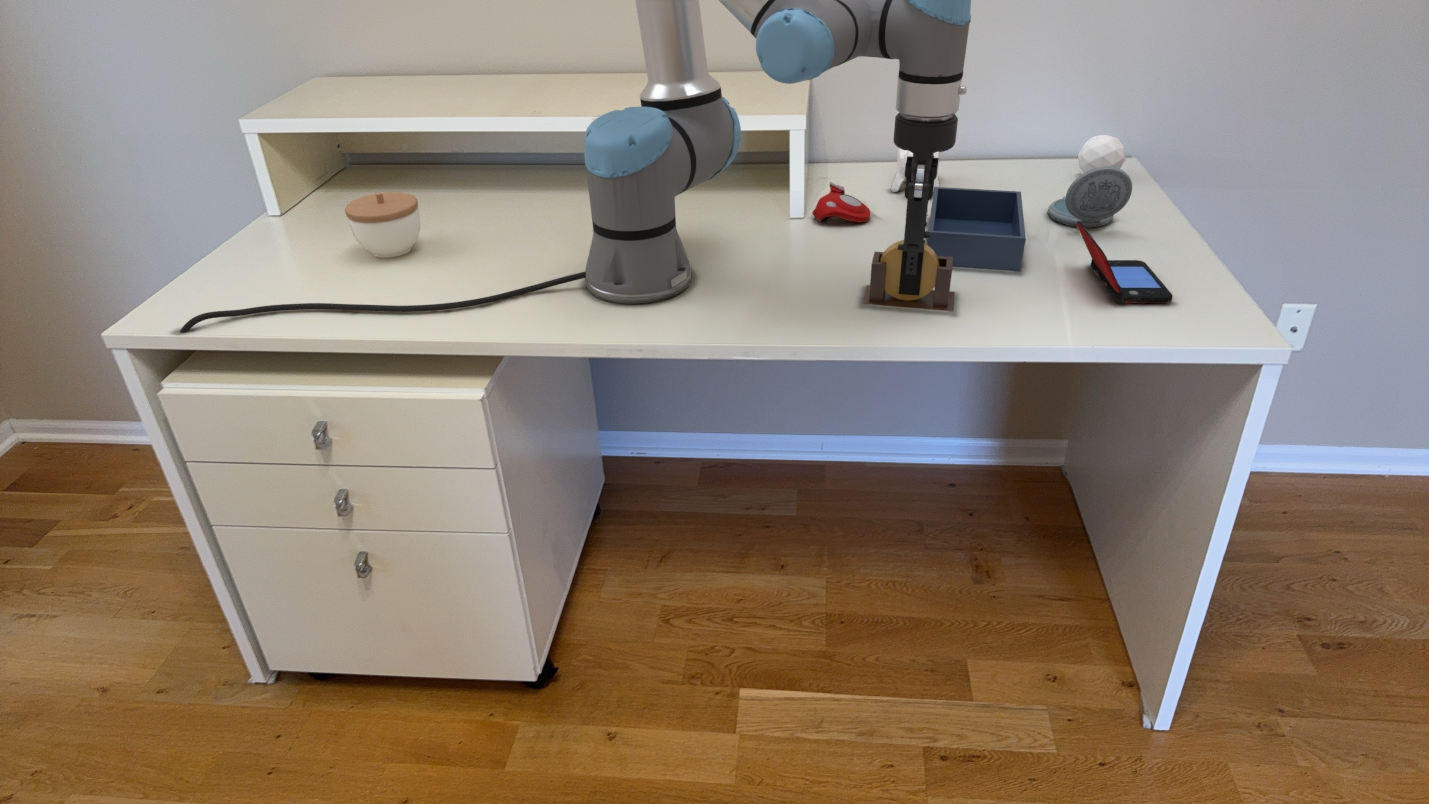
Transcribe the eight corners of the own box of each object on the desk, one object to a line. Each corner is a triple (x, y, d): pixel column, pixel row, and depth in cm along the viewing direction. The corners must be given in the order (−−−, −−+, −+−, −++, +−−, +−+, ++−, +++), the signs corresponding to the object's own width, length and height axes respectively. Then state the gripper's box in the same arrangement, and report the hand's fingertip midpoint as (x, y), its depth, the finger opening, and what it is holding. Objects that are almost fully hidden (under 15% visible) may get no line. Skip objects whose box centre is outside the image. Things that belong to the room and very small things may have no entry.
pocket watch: (1073, 167, 136) (1048, 138, 148) (1060, 236, 141) (1037, 202, 154) (1142, 167, 135) (1111, 137, 147) (1126, 236, 141) (1098, 202, 153)
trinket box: (354, 244, 146) (340, 187, 141) (422, 233, 150) (410, 177, 145) (359, 269, 138) (343, 210, 133) (431, 256, 141) (418, 198, 136)
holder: (954, 295, 125) (959, 254, 122) (953, 314, 120) (958, 273, 117) (866, 288, 128) (869, 248, 125) (862, 306, 123) (864, 266, 120)
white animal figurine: (891, 193, 168) (890, 189, 154) (895, 145, 166) (894, 138, 152) (938, 195, 166) (942, 192, 152) (943, 147, 165) (947, 139, 150)
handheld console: (1174, 305, 121) (1188, 253, 117) (1090, 305, 121) (1102, 253, 117) (1142, 266, 131) (1154, 217, 127) (1065, 266, 132) (1075, 218, 128)
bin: (1019, 274, 130) (1025, 238, 127) (924, 267, 133) (928, 231, 130) (1015, 224, 146) (1021, 191, 143) (930, 219, 149) (934, 186, 146)
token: (938, 300, 122) (938, 244, 118) (878, 300, 124) (876, 246, 120) (939, 294, 123) (939, 238, 119) (879, 294, 126) (878, 240, 121)
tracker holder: (885, 212, 149) (840, 211, 143) (874, 235, 151) (830, 235, 146) (841, 176, 156) (797, 174, 150) (832, 199, 159) (788, 197, 153)
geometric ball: (1101, 190, 166) (1133, 153, 163) (1103, 188, 159) (1137, 150, 156) (1067, 164, 167) (1099, 127, 164) (1068, 161, 160) (1101, 123, 157)
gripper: (957, 132, 103) (935, 316, 116) (959, 98, 116) (940, 268, 128) (890, 129, 105) (876, 311, 118) (900, 96, 117) (886, 264, 130)
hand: (909, 289), depth 123 cm, fingers closed on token, 2 cm apart
